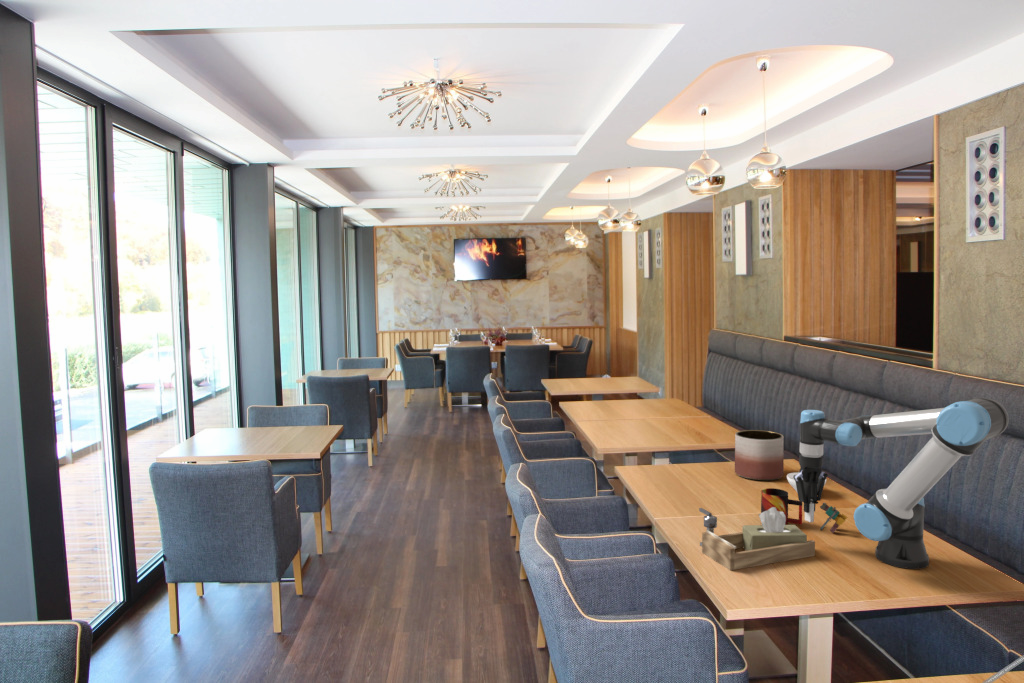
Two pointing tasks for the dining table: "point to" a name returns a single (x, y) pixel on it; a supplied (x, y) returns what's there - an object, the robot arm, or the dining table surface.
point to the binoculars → (833, 516)
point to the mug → (779, 503)
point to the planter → (759, 455)
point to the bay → (750, 551)
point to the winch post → (709, 521)
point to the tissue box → (771, 532)
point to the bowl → (792, 481)
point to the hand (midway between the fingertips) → (809, 520)
